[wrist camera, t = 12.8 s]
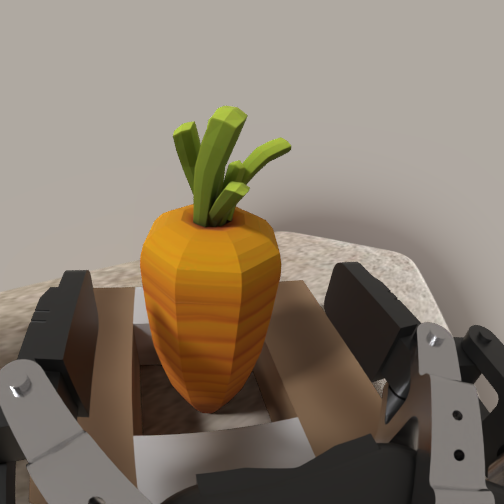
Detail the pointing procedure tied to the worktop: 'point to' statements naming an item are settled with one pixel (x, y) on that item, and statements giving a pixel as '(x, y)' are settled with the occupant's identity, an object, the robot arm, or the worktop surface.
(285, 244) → the worktop surface
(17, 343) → the worktop surface
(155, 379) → the worktop surface
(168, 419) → the worktop surface
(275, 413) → the brown and silver frame
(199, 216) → the carrot
